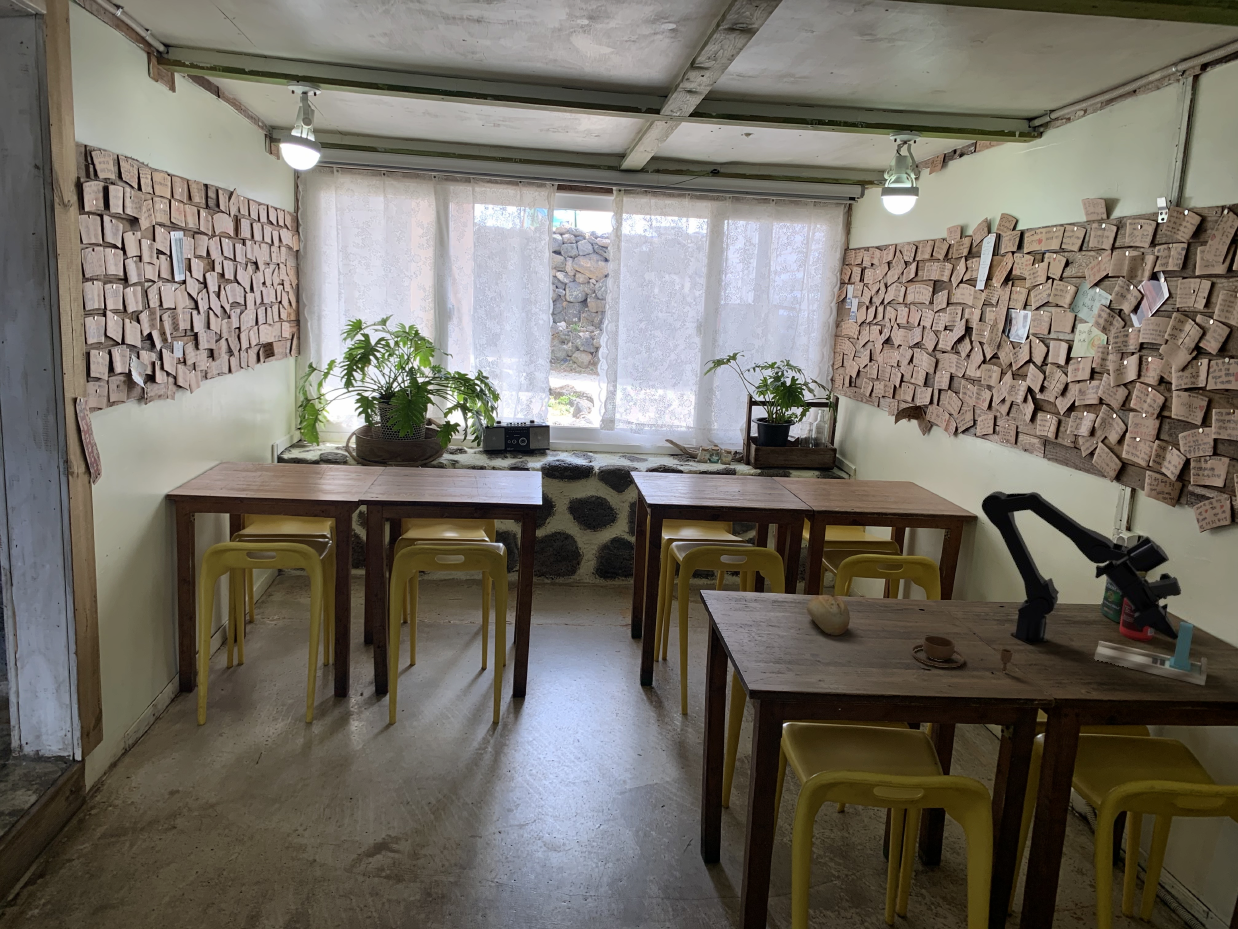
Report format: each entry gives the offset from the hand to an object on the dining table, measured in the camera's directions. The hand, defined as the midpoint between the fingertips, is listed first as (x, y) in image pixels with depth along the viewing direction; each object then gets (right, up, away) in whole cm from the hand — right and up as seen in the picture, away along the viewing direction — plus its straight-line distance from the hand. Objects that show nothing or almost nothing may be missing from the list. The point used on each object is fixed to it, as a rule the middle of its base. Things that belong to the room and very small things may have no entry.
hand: (1176, 638), depth 197 cm
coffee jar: (+8, -2, +36) cm, 36 cm away
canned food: (+5, -4, +23) cm, 24 cm away
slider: (+1, -7, 0) cm, 7 cm away
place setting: (-52, -7, +1) cm, 52 cm away
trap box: (-4, -7, +4) cm, 9 cm away
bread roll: (-76, -2, +21) cm, 79 cm away
